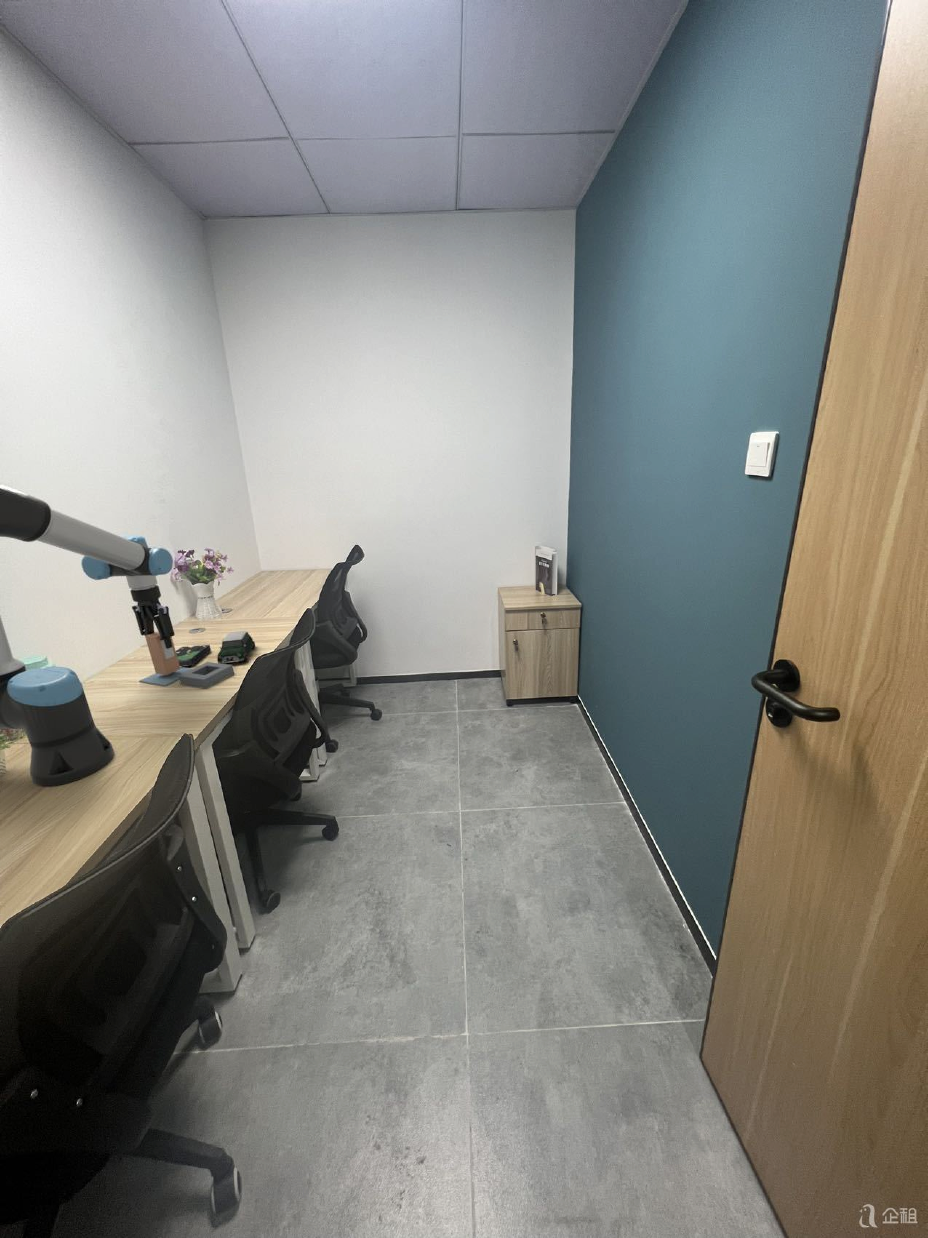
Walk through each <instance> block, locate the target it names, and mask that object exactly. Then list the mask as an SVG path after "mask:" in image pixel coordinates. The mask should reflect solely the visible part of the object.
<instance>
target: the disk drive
mask: <svg viewBox="0 0 928 1238" xmlns="http://www.w3.org/2000/svg"><path fill="white" fill-rule="evenodd" d="M175 651H176V654H177V658H178V662H179V665H180V667H189V666H190V667H191V666H193V665H194V664H195V663H197V662H198V661H200V660H201V659H203V658H204V657H205V656H207V655H208V654H209V653H211V651H212V648H211V644H204V645H194V646H189V645H187V646H181V647H180V648H178V649H177V650H176V649H175Z"/></svg>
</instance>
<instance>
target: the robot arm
mask: <svg viewBox="0 0 928 1238" xmlns="http://www.w3.org/2000/svg"><path fill="white" fill-rule="evenodd" d="M0 537H1V538H10V539H15V540H18V541H22V542H24V543H25V542H26V543H32V542H36V541H37V542H41V543H44V544H46V545H50V546H52V547H56V548H59V549H62V550H65V551H68V552H72V553H75V554H77V555H80V556H81V555H82V556H83V557H82V558H81V567H82V570H83V572H84V573H85V575H86V576H87V577H88V578H90V579H92V580H95V581H100V580H108V579H109V578H114V577H125V578H126V582H127V585H128V588H129V589H130V595H131V598H132V601H133V602H135V603H136V605H132V606H131V609H132V611H133V613H134V615H135V618H136V619H135V620H136V623H137V627H138V630H139V633H140V635H141V636H144V637H145V636H146V635H149V634H152V633H155V627H156V629H157V631H159V634H160V636H161V639H160V641H161V645H162V648H163V652H164V655H165V659H168V658H171V657H173V656H175V655H174V652H173V648H172V642H171V639H170V638H171V637H172V638H173V637H174V636H175V630H174V627H173V622H172V620H171V617H170V611H169V610H170V609H169V606H168V605H166V606H163V605H162V604H161V602H160V600H159V599H160V598H161V597H162V594H161V590H160V586H159V585H158V580H157V576H162V575H167V574H169V573H170V572H171V571H172V569H173V564H174V560H173V556H172V554H171V552H170V551H168V549H166V548H163V547H156V546H155V547H149V546H148V544H147V540H146V538H145V537H143V536H142V535H132V536H130V535H129V536H124V537H123V536H120V535H118V534H114V533H112V532H110V531H107V530H106V529H105V530H104V529H102V528H99V527H98V526H95V525H92V524H89V523H87V522H85V521H83V520H79V519H77V518H75V517H72V516H70V515H67V514H64V513H62V512H60V511H57V510H55V509H52V508H51V506H50V505H49V503H48V502H46V501H45V500H42V499H40V498H37V497H35V496H32V495H30V494H27V493H24V492H22V491H19V490H17V489H14V488H12V487H10V486H6V485H2V484H0ZM5 629H6V628H5V627H4V622H3V620H2V616H1V615H0V729H2V730H5V729H7V730H24V733H25V735H26V738H27V740H28V742H29V745H30V748H31V751H30V752H31V753H30V767H29V773H30V776H31V779H32V782H33V783H34V785H36V786H40V787H53V786H60V785H65V784H68V783H73V782H75V781H77V780H82V779H83V778H85V777H87V776H89V775H92V774H94V773H95V772H98V771H99V770H100V769H102V768H104V767H105V766H106V765H107V764H108V763H110V762H111V760H112V759H113V758H114V756H115V750H114V748H113V745H112V743H111V742H110V740H109V739H108V738H107V737H106V736H105V734H103V733H102V731H100V729H99V728H98V727H97V726H96V724H95V721H94V718H93V715H92V712H91V709H90V705H89V703H88V700H87V697H86V694H85V691H84V687H83V684H82V682H81V681H80V679H79V677H78V675H77V673H76V671H74V670H73V669H70V668H68V667H63V666H46V667H42V668H41V667H38V668H37V667H36V668H33V669H28V670H27V669H26V666H25V663H24V661H22V660H19V659H18V658H15V657H13V652H12V650H11V647H10V643H9V639H8V637H7V632H6V630H5Z"/></svg>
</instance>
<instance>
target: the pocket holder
mask: <svg viewBox="0 0 928 1238" xmlns="http://www.w3.org/2000/svg"><path fill="white" fill-rule="evenodd" d="M234 674H235V671H234V666H233V664H227V663H224V664H220V663H218V662H212V661H206V662H204V663H201V664H200V665H197V666H196V667H193V668H191V670H189V671H187V672H185V673H183V674H181V675H179V676H178V677H179V680H178V681H179V683H180V686H181V685H182V686H187V687H188V686H189V687H195V688H201V689H209V688H210V687H212V686H214V685H216V684H217V683H219V682H221V681H223V680H225V679H227V678H228V677H230V676H232V675H234Z"/></svg>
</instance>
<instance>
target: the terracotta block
mask: <svg viewBox="0 0 928 1238" xmlns="http://www.w3.org/2000/svg"><path fill="white" fill-rule="evenodd" d="M144 638H145V640H146V644H147V649H148V651H149V655H150V659H151V661H152V662H151V663H152V665H153V669H154V672H155V673H156V674H163V675H168V674H170V673H172V672H174V671H177V670H179V669H180V667H181V666H180V665H179V662H178V658H177V654H176V648H175V643H174V640H173V636H172V637H171V638H170V639H171V642H172V648H173V652H174V655H175V656H173V657H171V658H168V659H165V655H164V652H163V648H162V645H161V641H160V639H161V636H160V634H159V631H158V630H157V631H154V633H152V634H149V635H146V636H145V635H144Z"/></svg>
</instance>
